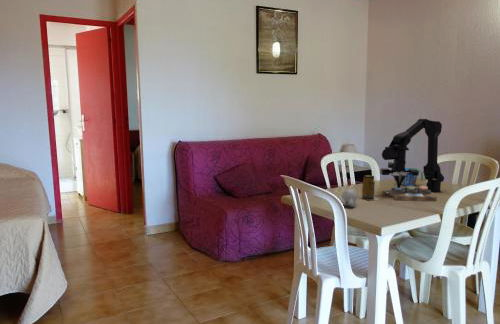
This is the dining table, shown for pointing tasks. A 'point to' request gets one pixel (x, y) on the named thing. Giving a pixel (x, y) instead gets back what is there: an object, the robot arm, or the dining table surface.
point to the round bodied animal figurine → (349, 197)
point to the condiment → (368, 188)
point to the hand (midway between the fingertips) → (398, 187)
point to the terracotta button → (423, 188)
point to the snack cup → (411, 178)
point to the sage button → (410, 187)
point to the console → (412, 195)
